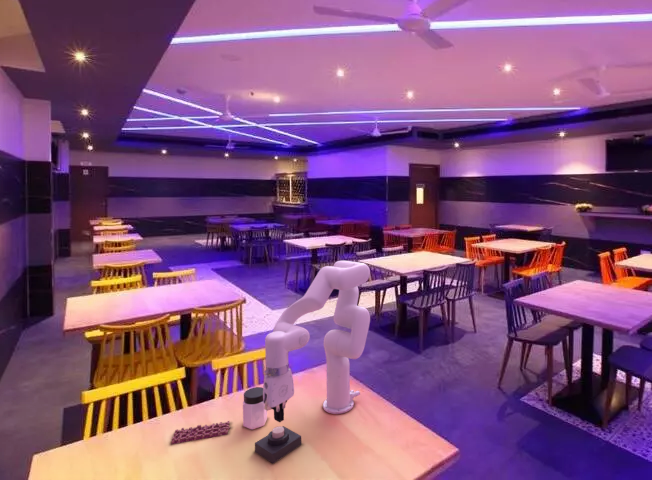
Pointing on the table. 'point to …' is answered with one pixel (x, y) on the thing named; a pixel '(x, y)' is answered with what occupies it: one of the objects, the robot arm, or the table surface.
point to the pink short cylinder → (278, 432)
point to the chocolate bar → (200, 432)
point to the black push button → (277, 445)
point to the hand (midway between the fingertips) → (279, 419)
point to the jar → (254, 408)
